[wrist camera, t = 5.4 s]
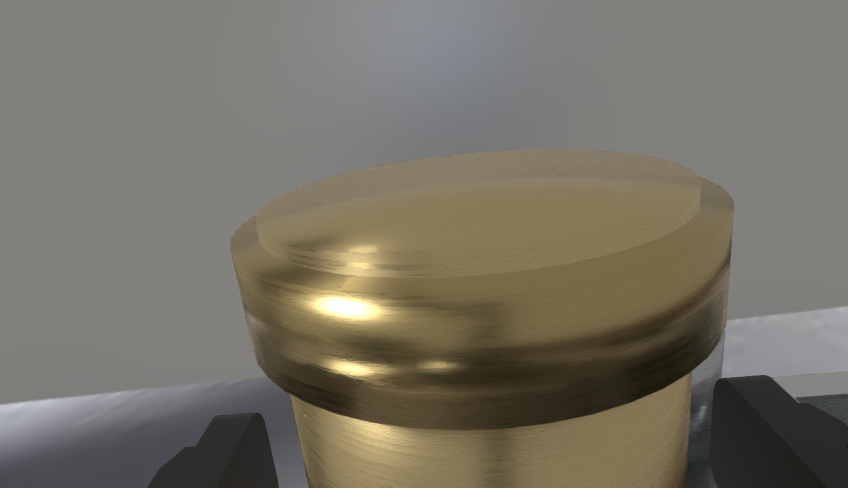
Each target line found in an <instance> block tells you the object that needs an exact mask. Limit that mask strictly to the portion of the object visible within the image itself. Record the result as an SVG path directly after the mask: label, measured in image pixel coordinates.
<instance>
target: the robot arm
mask: <svg viewBox="0 0 848 488" xmlns="http://www.w3.org/2000/svg"><path fill="white" fill-rule="evenodd" d="M709 460H710V466H711V471H712V474H713V477H714V480H715V483H716V485H717V487H718V488H848V426H847V425H846V424H845V423H844V422H843V421H841V420H839V419H838V418H836V417H834V416H832V415H830V414H828V413H826V412H824V411H822V410H820V409H818V408H816V407H815V406H813V405H811V404H809V403H798V402H797V401H796V400H795V399H794V398H793V397H792V396H791V395H790V394H788V393H787V392H786V391H785V390H784V389H783V388H782V387H781V386H780V385H779V384H778V383H777V382H775V381H774V380H773V379H772V378H771V377H769V376H766V375H759V376H746V377H733V378H721V379H718V380H717V381H716V383H715V386H714V391H713V404H712V418H711V433H710V447H709ZM147 488H279V486H278V480H277V475H276V471H275V466H274V462H273V457H272V453H271V448H270V443H269V439H268V434H267V430H266V425H265V422H264V419H263V417H262V415H261V414H260V413H247V414H234V415H221V416H216V417H215V418H214V419H213V420H212V421H211V423H210V425H209V426H208V428H207V429H206V431H205V433H204V434H203V436H202V437H201V439H200V441H199V442H198V444H197V445H196V446H195V447H185V448H184V449H183V450H182V451H180V452H179V453H178V454H177V455H176V456H175V457H173V458H172V459H171V460H170V461H169V462H167V463H166V464H165V465H164V466H163V467H161V468H160V469H159V471H158V472H157V474H156V475H155V477H154V478H153V480H152V481H151V483H150V484H149V486H148V487H147Z"/></svg>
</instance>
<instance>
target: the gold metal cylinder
mask: <svg viewBox="0 0 848 488" xmlns="http://www.w3.org/2000/svg"><path fill="white" fill-rule="evenodd" d="M733 216H734V202H733V199H732V198H731V197H730V195H729V193H728V192H727V191H725V190H724V189H723V188H722V187H720V186H719V185H717V184H715V183H713V182H711V181H709V180H707V179H705V178H702V177H699V176H698V175H697V174H696V173H694V172H693V171H692V170H690V169H689V168H686V167H684V166H682V165H680V164H677V163H674V162H671V161H668V160H664V159H659V158H655V157H650V156H644V155H638V154H630V153H622V152H610V151H596V150H564V149H559V150H558V149H556V150H555V149H554V150H553V149H551V150H514V151H496V152H482V153H470V154H460V155H450V156H441V157H434V158H427V159H419V160H412V161H406V162H399V163H394V164H388V165H383V166H377V167H372V168H367V169H362V170H358V171H354V172H349V173H345V174H341V175H337V176H334V177H330V178H326V179H323V180H320V181H317V182H313V183H310V184H308V185H305V186H302V187H299V188H296V189H294V190H292V191H289V192H287V193H285V194H283V195H281V196H279V197H277V198H275V199H273V200H272V201H270V202H269V203H267V204H266V205H265V206H264V207H263V208H262V209H261V210H260V211H259V212H258V214H257V215H255V216H254V217H252V218H251V219H249V220H248V221H247V222H245V223H244V224H243V225H242V226H241V227H240V228H239V229H238V230H237V231H236V232H235V234H234V235H233V237H232V239H231V246H230V249H231V253H232V258H233V262H234V267H235V272H236V276H237V281H238V285H239V290H240V294H241V298H242V304H243V308H244V313H245V317H246V322H247V326H248V331H249V335H250V340H251V344H252V349H253V352H254V355H255V357H256V360H257V363H258V365H259V366H260V367H261V369H262V370H263V371H264V372H265V374H266V375H267V376H268V378H269V379H271V380H272V381H273V382H274V383H276V384H277V385H278V386H279V387H280V388H282V389H283V390H284V391H286V392H287V393H289V394H290V396H291V401H292V406H293V410H294V415H295V420H296V425H297V430H298V435H299V440H300V445H301V450H302V455H303V460H304V465H305V470H306V475H307V479H308V484H309V488H686V485H687V464H688V443H689V422H690V402H691V381H692V371H693V370H694V369H695V368H696V367H697V366H699V365H700V364H701V363H702V362H703V361H704V360H706V359H707V358H708V357H709V356H710V354H711V353H712V352H713V350H714V349H715V347H716V346H717V345H718V343H719V342H720V341H721V338H722V335H723V332H724V330H725V327H726V320H727V306H728V291H729V275H730V261H731V246H732V231H733Z"/></svg>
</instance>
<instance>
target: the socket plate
mask: <svg viewBox="0 0 848 488" xmlns="http://www.w3.org/2000/svg"><path fill="white" fill-rule="evenodd" d="M724 337H725V331H724V332H723V335H722V338H721V341H720V342H719V343H718V345H717V346H716V347H715V349H714V350H713V352H712V353H711V354H710V356H709V357H708V358H707V359H706V360H704V361H703V362H702V363H701V364H700V365H699V366H697V367H696V368H695V369H694V370H693V371H692V381H691V402H690V422H689V443H688V464H687V485H686V488H718V487H717V485H716V483H715V480H714V477H713V474H712V471H711V466H710V460H709V447H710V433H711V418H712V404H713V391H714V386H715V383H716V381H717V380H718V379H721V378H722V364H723V351H724ZM772 379H773V380H774V381H775V382H777V383H778V384H779V385H780V386H781V387H782V388H783V389H784V390H785V391H786V392H787V393H788V394H790V395H791V396H792V397H793V398H794V399H795V400H796V401H797V402H798V403H809V404H811V405H813V406H815V407H816V408H818V409H820V410H822V411H824V412H826V413H828V414H830V415H832V416H834V417H836V418H838V419H839V420H841V421H843V422H844V423H845V424H846V425H847V426H848V372H838V373H825V374H812V375H799V376H786V377H773V378H772Z"/></svg>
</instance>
